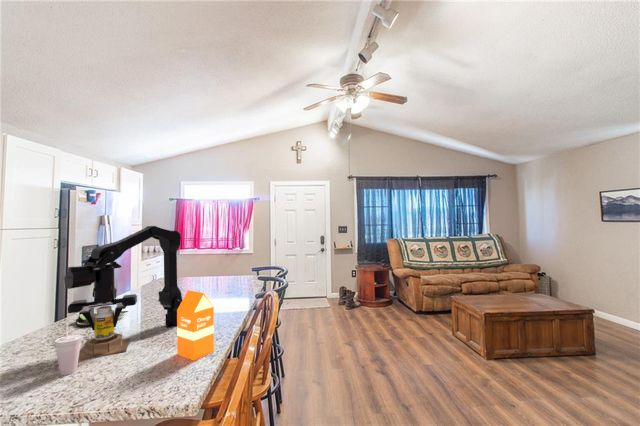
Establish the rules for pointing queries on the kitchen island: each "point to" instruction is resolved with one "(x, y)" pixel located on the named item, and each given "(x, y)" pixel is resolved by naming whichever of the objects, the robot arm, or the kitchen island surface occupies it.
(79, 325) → the salad plate
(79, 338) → the smoothie
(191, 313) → the orange juice
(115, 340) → the caddy
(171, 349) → the kitchen island surface
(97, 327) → the supplement bottle
